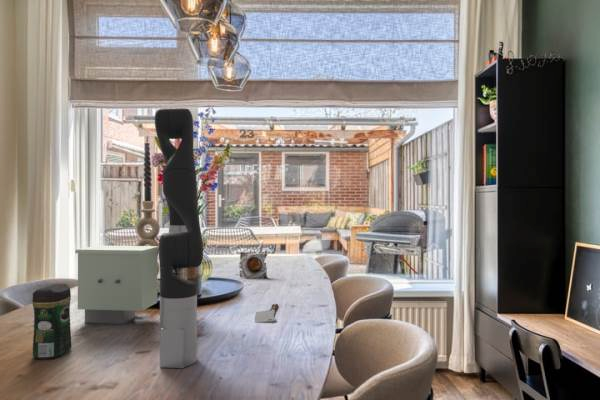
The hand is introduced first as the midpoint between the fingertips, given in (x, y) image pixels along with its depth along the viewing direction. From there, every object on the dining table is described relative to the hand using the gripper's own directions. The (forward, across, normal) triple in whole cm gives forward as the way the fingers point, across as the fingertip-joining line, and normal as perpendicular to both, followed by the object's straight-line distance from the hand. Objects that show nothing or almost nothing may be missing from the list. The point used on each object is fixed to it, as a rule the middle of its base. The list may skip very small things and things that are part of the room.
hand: (179, 285), depth 159 cm
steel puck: (+11, -8, +10) cm, 17 cm away
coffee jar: (+11, -41, +20) cm, 47 cm away
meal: (+12, +81, -10) cm, 82 cm away
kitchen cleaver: (+12, +7, -30) cm, 33 cm away
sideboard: (+11, -9, +18) cm, 23 cm away
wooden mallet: (+1, 0, +5) cm, 5 cm away
